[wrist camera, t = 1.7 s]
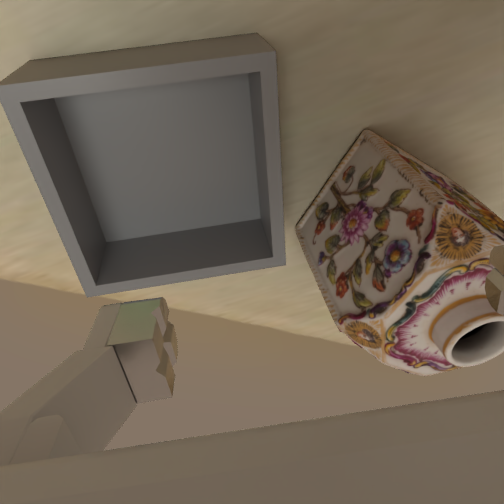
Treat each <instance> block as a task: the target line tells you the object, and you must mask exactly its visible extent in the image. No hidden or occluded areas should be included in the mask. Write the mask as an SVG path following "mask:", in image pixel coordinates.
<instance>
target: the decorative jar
mask: <svg viewBox="0 0 504 504" xmlns="http://www.w3.org/2000/svg"><path fill="white" fill-rule="evenodd" d="M296 234H297V237H298V239H299V242H300V244H301V247H302V250H303V252H304V255H305V257H306V259H307V261H308V264H309V266H310V268H311V270H312V272H313V274H314V277H315V279H316V282H317V284H318V287H319V289H320V291H321V293H322V295H323V298H324V300H325V302H326V305H327V307H328V309H329V311H330V313H331V316H332V318H333V320H334V322H335V324H336V325H337V327H338V329H339V331H340V332H343V333H345V334H346V335H347V336H348V337H349V338H350V339H351V340H352V341H353V342H354V343H355V344H357V345H358V346H360V347H361V348H364V349H365V350H366V351H368V352H369V353H370V354H371V355H372V356H374V357H375V358H376V359H378V360H379V361H380V362H382V363H383V364H385V365H388V366H391V367H394V368H397V369H399V370H403V371H405V372H407V373H411V374H417V375H422V376H429V375H432V374H437V373H441V372H446V371H451V370H454V369H458V368H462V367H467V366H474V365H478V364H481V363H483V362H486V361H488V360H490V359H492V358H494V357H496V356H498V355H499V354H501V353H502V352H504V315H501V314H499V313H497V312H496V311H495V310H494V309H493V308H492V307H491V305H490V303H489V301H488V300H487V297H486V292H485V281H486V276H487V275H488V274H489V273H490V272H491V270H492V269H493V266H492V265H491V264H490V262H489V258H490V252H491V251H492V249H493V248H494V246H500V245H504V221H503V220H502V219H501V218H499V217H498V216H497V215H496V214H495V213H494V212H492V211H491V210H490V209H489V208H488V207H486V206H485V205H484V204H483V203H482V202H480V201H479V200H478V199H476V198H475V197H474V196H472V195H471V194H470V193H468V192H467V191H466V190H465V189H463V188H462V187H461V186H460V185H458V184H457V183H455V182H454V181H452V180H451V179H449V178H448V177H446V176H445V175H443V174H441V173H440V172H438V171H436V170H435V169H433V168H431V167H430V166H428V165H427V164H425V163H423V162H421V161H420V160H418V159H417V158H415V157H414V156H412V155H410V154H409V153H407V152H405V151H404V150H402V149H401V148H399V147H397V146H395V145H394V144H392V143H390V142H389V141H387V140H385V139H384V138H382V137H380V136H379V135H377V134H375V133H374V132H372V131H370V130H364V131H363V132H362V133H361V135H360V136H359V137H358V139H357V140H356V142H355V143H354V145H353V146H352V147H351V149H350V150H349V151H348V153H347V154H346V155H345V157H344V158H343V160H342V161H341V163H340V164H339V165H338V167H337V168H336V170H335V171H334V172H333V174H332V176H331V177H330V178H329V180H328V181H327V183H326V184H325V186H324V187H323V189H322V190H321V192H320V193H319V194H318V196H317V197H316V199H315V200H314V202H313V203H312V205H311V206H310V208H309V209H308V210H307V212H306V213H305V215H304V216H303V217H302V219H301V220H300V221H299V223H298V224H297V226H296Z"/></svg>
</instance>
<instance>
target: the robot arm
mask: <svg viewBox="0 0 504 504" xmlns="http://www.w3.org/2000/svg"><path fill="white" fill-rule="evenodd" d="M489 262H490V264H491V265H492V266H493V269H492V270H491V272H490V273H489V274H488V275H487V276H486V281H485V292H486V297H487V300H488V301H489V303H490V305H491V307H492V308H493V309H494V310H495V311H496V312H497V313H499V314H501V315H504V245H500V246H494V248H493V249H492V251H491V252H490V258H489ZM168 314H169V309H168V306H167V303H166V300H165V299H164V298H163V297H160V298H153V299H146V300H138V301H131V302H124V303H116V304H110V305H104V306H102V307H101V308H100V309H99V312H98V314H97V316H96V319H95V321H94V324H93V326H92V328H91V331H90V333H89V336H88V338H87V340H86V343H85V345H84V348H83V350H80V351H76V352H74V353H73V354H72V355H71V356H69V357H68V358H67V359H66V360H64V361H63V362H62V363H61V364H60V365H58V366H57V367H56V368H55V369H53V370H52V371H51V372H50V373H48V374H47V375H46V376H45V377H43V378H42V379H41V380H40V381H38V382H37V383H36V384H35V385H33V386H32V387H31V388H30V389H28V390H27V391H26V392H25V393H23V394H22V395H21V396H20V397H18V398H17V399H16V400H15V401H13V402H12V403H11V404H10V405H8V406H7V407H6V408H5V409H3V410H2V411H1V412H0V504H504V390H501V391H494V392H487V393H481V394H474V395H467V396H461V397H454V398H447V399H441V400H435V401H428V402H421V403H415V404H408V405H402V406H395V407H388V408H382V409H376V410H369V411H362V412H356V413H349V414H343V415H336V416H330V417H324V418H316V419H310V420H303V421H297V422H290V423H283V424H277V425H270V426H264V427H257V428H250V429H244V430H237V431H231V432H224V433H218V434H211V435H204V436H198V437H191V438H184V439H178V440H171V441H164V442H158V443H151V444H145V445H138V446H131V447H125V448H118V449H112V450H105V451H103V450H104V448H105V447H106V446H107V445H108V443H109V442H110V441H111V439H112V438H113V437H114V435H115V434H116V433H117V431H118V430H119V429H120V428H121V426H122V425H123V424H124V422H125V421H126V420H127V418H128V417H129V416H130V414H131V413H132V412H133V410H134V409H135V408H136V406H137V404H138V403H143V402H149V401H154V400H160V399H165V398H171V397H172V396H173V388H174V380H175V374H174V370H173V365H174V364H175V363H176V362H177V356H178V349H177V348H178V347H177V337H176V332H175V329H174V325H173V324H171V323H170V322H169V321H168Z"/></svg>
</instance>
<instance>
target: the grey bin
mask: <svg viewBox="0 0 504 504" xmlns="http://www.w3.org/2000/svg"><path fill="white" fill-rule="evenodd" d="M0 102H1V104H2V106H3V108H4V111H5V113H6V115H7V118H8V120H9V122H10V124H11V127H12V129H13V131H14V133H15V136H16V138H17V140H18V142H19V145H20V147H21V149H22V151H23V154H24V156H25V158H26V161H27V163H28V165H29V167H30V170H31V172H32V174H33V176H34V179H35V181H36V183H37V185H38V188H39V190H40V192H41V194H42V197H43V199H44V201H45V204H46V206H47V208H48V210H49V213H50V215H51V217H52V219H53V222H54V224H55V226H56V228H57V231H58V233H59V235H60V237H61V240H62V242H63V244H64V246H65V249H66V251H67V253H68V256H69V258H70V260H71V262H72V265H73V267H74V269H75V271H76V274H77V276H78V278H79V280H80V283H81V285H82V287H83V289H84V292H85V294H86V296H87V297H92V296H99V295H105V294H111V293H117V292H123V291H129V290H136V289H142V288H148V287H154V286H160V285H166V284H172V283H179V282H185V281H191V280H197V279H203V278H209V277H215V276H222V275H228V274H234V273H240V272H246V271H252V270H259V269H265V268H271V267H277V266H283V265H286V257H285V236H284V214H283V193H282V171H281V150H280V128H279V107H278V86H277V64H276V51H275V50H274V49H273V48H272V47H271V46H270V45H269V44H268V43H267V42H266V41H265V40H264V39H263V38H262V37H261V36H260V35H259V34H258V33H251V34H242V35H234V36H226V37H218V38H209V39H201V40H193V41H185V42H177V43H168V44H160V45H152V46H144V47H136V48H127V49H119V50H111V51H103V52H95V53H86V54H78V55H70V56H62V57H54V58H45V59H37V60H29V61H28V62H27V63H25V64H24V65H23V66H21V67H20V68H18V69H17V70H16V71H14V72H13V73H12V74H10V75H9V76H7V77H6V78H5V79H3V80H2V81H1V82H0Z"/></svg>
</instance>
